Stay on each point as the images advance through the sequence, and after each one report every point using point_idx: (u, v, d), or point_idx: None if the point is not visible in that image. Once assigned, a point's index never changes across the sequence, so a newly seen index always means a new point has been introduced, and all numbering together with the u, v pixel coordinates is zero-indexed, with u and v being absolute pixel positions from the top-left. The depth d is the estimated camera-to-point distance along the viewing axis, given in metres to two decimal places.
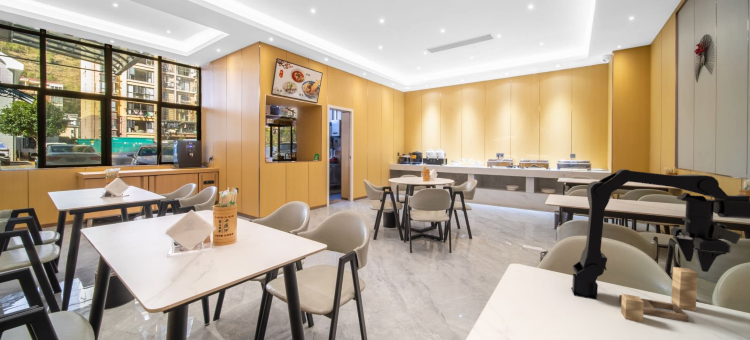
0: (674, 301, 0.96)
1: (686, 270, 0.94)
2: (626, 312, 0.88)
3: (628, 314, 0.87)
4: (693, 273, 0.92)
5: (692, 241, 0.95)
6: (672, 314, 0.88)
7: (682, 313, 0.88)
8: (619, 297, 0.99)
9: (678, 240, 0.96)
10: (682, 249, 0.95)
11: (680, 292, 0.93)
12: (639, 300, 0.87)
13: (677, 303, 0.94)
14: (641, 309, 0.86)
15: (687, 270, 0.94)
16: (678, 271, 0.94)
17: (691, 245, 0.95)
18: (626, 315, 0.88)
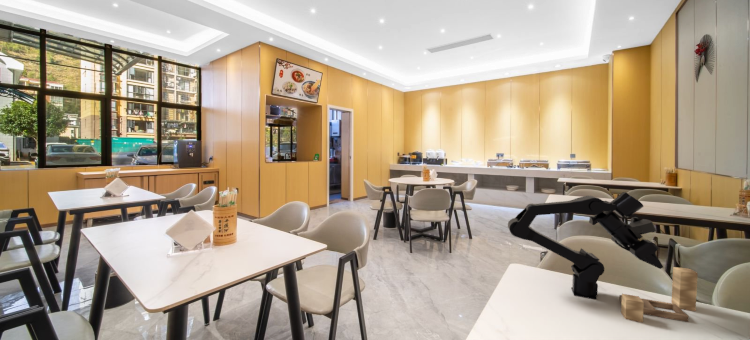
0: (674, 301, 0.96)
1: (686, 270, 0.94)
2: (626, 312, 0.88)
3: (628, 314, 0.87)
4: (693, 273, 0.92)
5: None
6: (672, 314, 0.88)
7: (682, 313, 0.88)
8: (619, 297, 0.99)
9: (623, 247, 1.03)
10: None
11: (680, 292, 0.93)
12: (639, 300, 0.87)
13: (677, 303, 0.94)
14: (641, 309, 0.86)
15: (687, 270, 0.94)
16: (678, 271, 0.94)
17: None
18: (626, 315, 0.88)
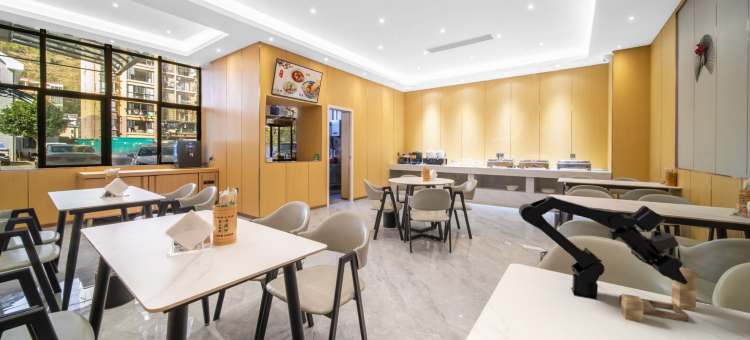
0: (674, 301, 0.96)
1: (686, 270, 0.94)
2: (626, 312, 0.88)
3: (628, 314, 0.87)
4: (693, 273, 0.92)
5: None
6: (672, 314, 0.88)
7: (682, 313, 0.88)
8: (619, 297, 0.99)
9: (644, 261, 1.02)
10: None
11: (680, 292, 0.93)
12: (639, 300, 0.87)
13: (677, 303, 0.94)
14: (641, 309, 0.86)
15: (687, 270, 0.94)
16: None
17: None
18: (626, 315, 0.88)
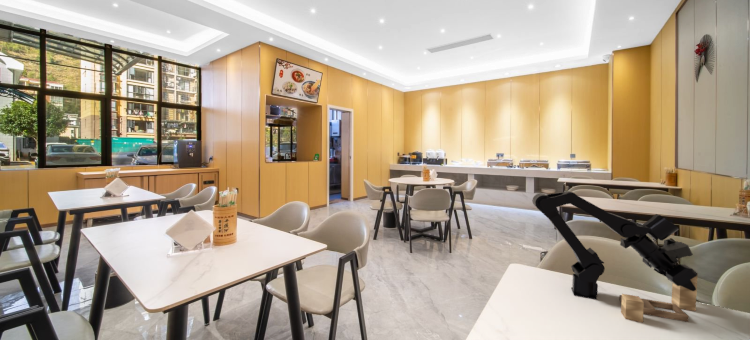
0: (674, 301, 0.96)
1: None
2: (626, 312, 0.88)
3: (628, 314, 0.87)
4: None
5: None
6: (672, 314, 0.88)
7: (682, 313, 0.88)
8: (619, 297, 0.99)
9: (660, 272, 0.98)
10: None
11: (680, 292, 0.93)
12: (639, 300, 0.87)
13: (677, 303, 0.94)
14: (641, 309, 0.86)
15: None
16: None
17: None
18: (626, 315, 0.88)
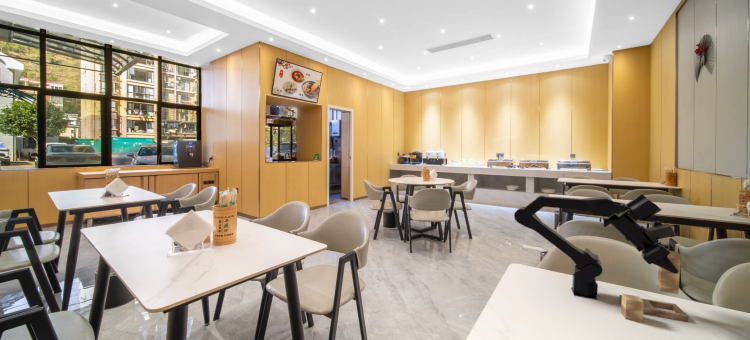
0: (658, 284, 0.93)
1: (671, 252, 0.90)
2: (626, 312, 0.88)
3: (628, 314, 0.87)
4: (676, 255, 0.89)
5: None
6: (672, 314, 0.88)
7: (682, 313, 0.88)
8: (619, 297, 0.99)
9: None
10: None
11: (661, 274, 0.91)
12: (639, 300, 0.87)
13: (659, 285, 0.92)
14: (641, 309, 0.86)
15: (672, 252, 0.91)
16: None
17: None
18: (626, 315, 0.88)
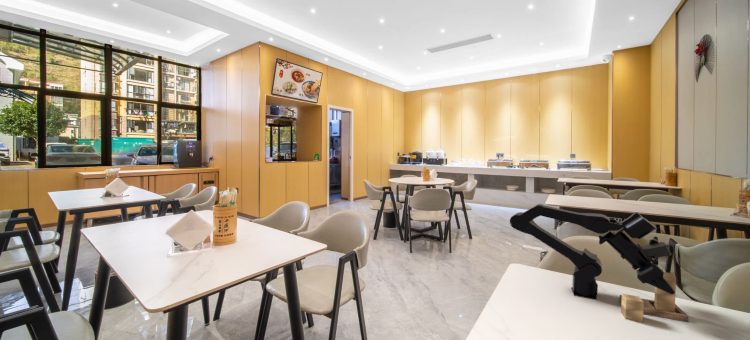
0: (655, 305, 0.93)
1: (666, 274, 0.90)
2: (626, 312, 0.88)
3: (628, 314, 0.87)
4: (671, 277, 0.89)
5: None
6: (672, 314, 0.88)
7: (682, 313, 0.88)
8: (619, 297, 0.99)
9: None
10: None
11: (657, 296, 0.91)
12: (639, 300, 0.87)
13: (655, 307, 0.92)
14: (641, 309, 0.86)
15: (668, 274, 0.91)
16: None
17: None
18: (626, 315, 0.88)
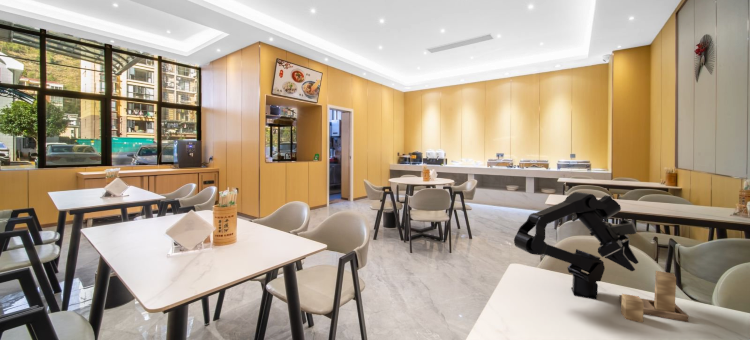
0: (655, 305, 0.93)
1: (666, 274, 0.90)
2: (626, 312, 0.88)
3: (628, 314, 0.87)
4: (671, 277, 0.89)
5: (623, 244, 1.00)
6: (672, 314, 0.88)
7: (682, 313, 0.88)
8: (619, 297, 0.99)
9: None
10: None
11: (657, 296, 0.91)
12: (639, 300, 0.87)
13: (655, 307, 0.92)
14: (641, 309, 0.86)
15: (668, 274, 0.91)
16: (657, 274, 0.91)
17: (626, 248, 1.00)
18: (626, 315, 0.88)
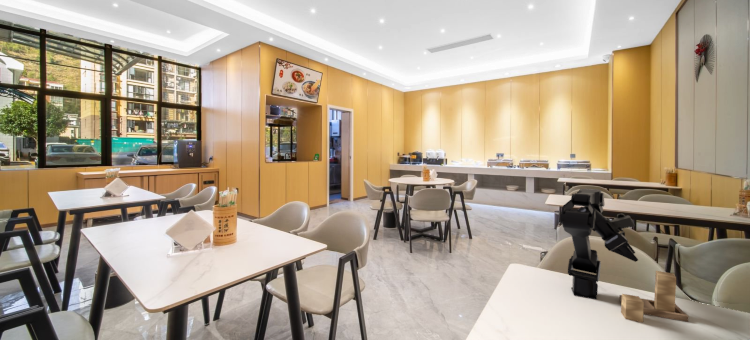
0: (655, 305, 0.93)
1: (666, 274, 0.90)
2: (626, 312, 0.88)
3: (628, 314, 0.87)
4: (671, 277, 0.89)
5: None
6: (672, 314, 0.88)
7: (682, 313, 0.88)
8: (619, 297, 0.99)
9: None
10: None
11: (657, 296, 0.91)
12: (639, 300, 0.87)
13: (655, 307, 0.92)
14: (641, 309, 0.86)
15: (668, 274, 0.91)
16: (657, 274, 0.91)
17: None
18: (626, 315, 0.88)
